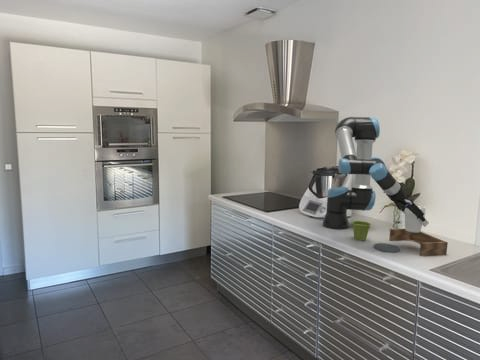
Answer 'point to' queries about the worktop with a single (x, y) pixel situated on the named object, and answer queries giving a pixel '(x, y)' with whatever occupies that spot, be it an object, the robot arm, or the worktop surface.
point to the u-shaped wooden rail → (421, 241)
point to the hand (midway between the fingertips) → (419, 222)
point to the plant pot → (360, 230)
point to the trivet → (386, 247)
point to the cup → (413, 220)
